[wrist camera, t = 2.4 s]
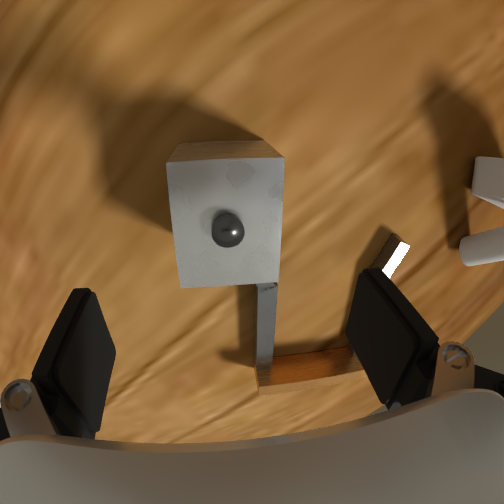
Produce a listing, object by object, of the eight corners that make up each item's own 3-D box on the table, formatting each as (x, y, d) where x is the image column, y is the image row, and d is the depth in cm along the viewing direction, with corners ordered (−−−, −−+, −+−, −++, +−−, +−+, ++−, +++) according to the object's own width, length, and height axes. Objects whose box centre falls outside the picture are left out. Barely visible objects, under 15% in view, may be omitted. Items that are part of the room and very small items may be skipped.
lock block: (179, 143, 18) (163, 165, 12) (263, 139, 19) (287, 160, 13) (186, 239, 22) (180, 294, 16) (262, 235, 22) (280, 288, 17)
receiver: (238, 241, 22) (243, 266, 19) (402, 233, 24) (424, 253, 21) (242, 369, 29) (245, 396, 26) (366, 351, 31) (378, 374, 28)
